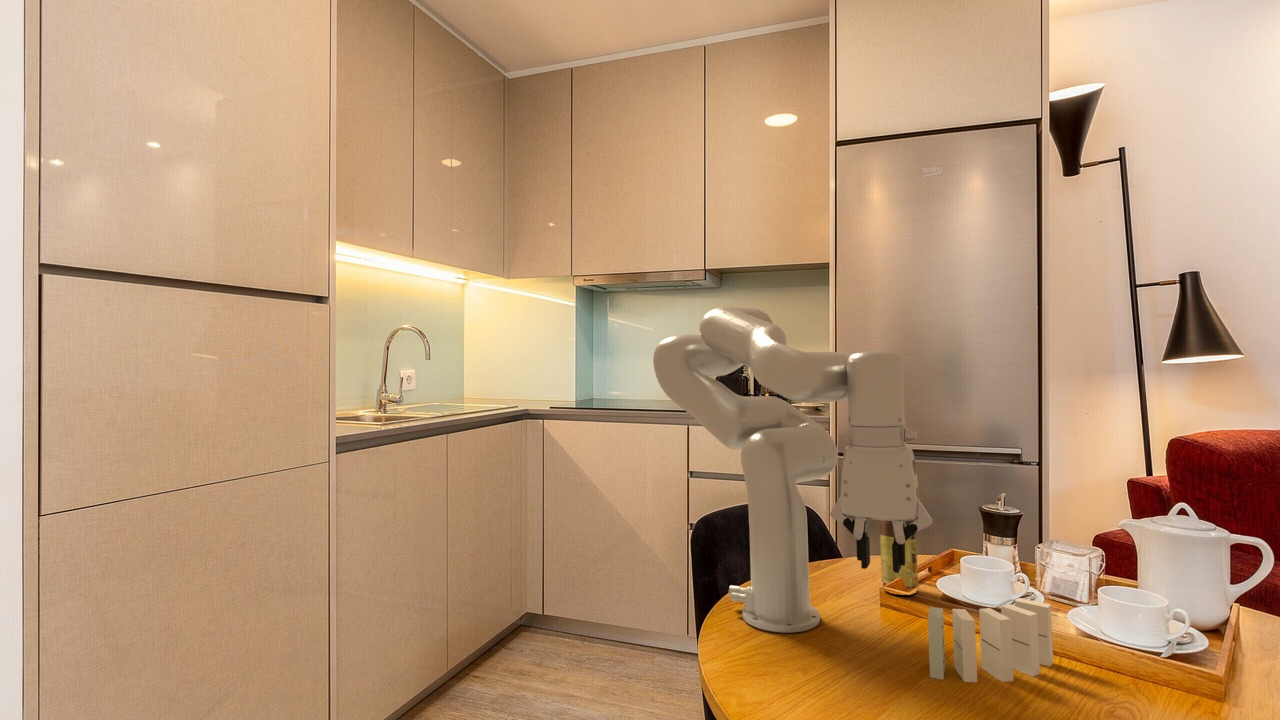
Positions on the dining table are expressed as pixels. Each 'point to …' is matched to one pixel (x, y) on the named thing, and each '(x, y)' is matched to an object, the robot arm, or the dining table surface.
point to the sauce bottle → (888, 575)
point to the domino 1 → (964, 645)
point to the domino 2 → (996, 644)
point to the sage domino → (936, 643)
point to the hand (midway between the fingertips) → (881, 566)
